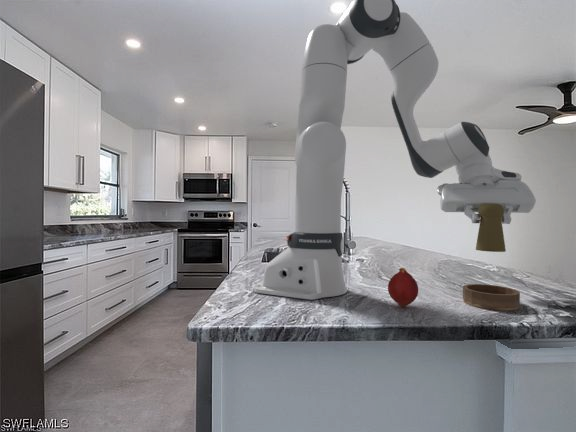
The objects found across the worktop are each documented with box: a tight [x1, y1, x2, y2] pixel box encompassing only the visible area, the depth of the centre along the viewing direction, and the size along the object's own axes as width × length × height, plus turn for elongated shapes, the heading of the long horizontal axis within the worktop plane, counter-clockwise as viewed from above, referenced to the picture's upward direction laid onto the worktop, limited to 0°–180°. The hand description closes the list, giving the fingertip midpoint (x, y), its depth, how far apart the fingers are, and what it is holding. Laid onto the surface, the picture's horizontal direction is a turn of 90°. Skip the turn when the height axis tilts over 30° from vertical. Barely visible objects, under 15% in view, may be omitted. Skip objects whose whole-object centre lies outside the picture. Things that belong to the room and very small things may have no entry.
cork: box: [475, 204, 507, 253], centre depth 76 cm, size 6×6×11 cm
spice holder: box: [462, 283, 521, 312], centre depth 68 cm, size 10×10×3 cm
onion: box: [387, 267, 419, 308], centre depth 66 cm, size 6×6×8 cm
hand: (491, 221), depth 76 cm, fingers closed on cork, 5 cm apart
